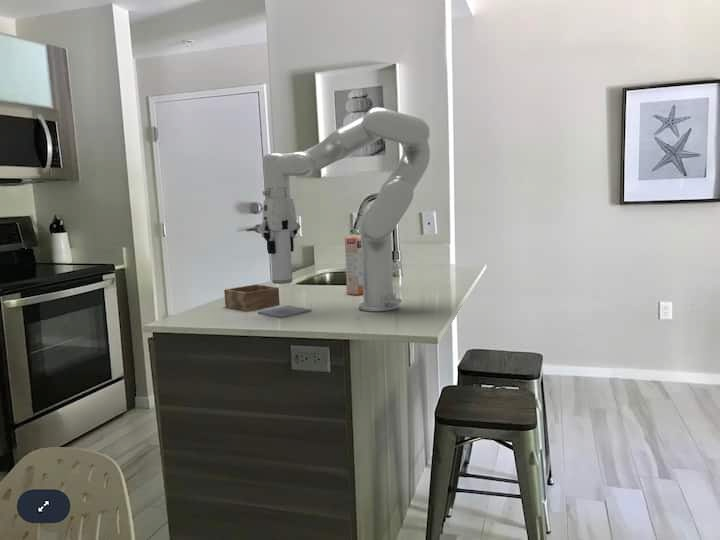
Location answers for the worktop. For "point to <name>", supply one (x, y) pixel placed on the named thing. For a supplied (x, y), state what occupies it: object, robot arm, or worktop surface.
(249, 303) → the crate
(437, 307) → the worktop surface
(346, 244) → the cracker box
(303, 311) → the mat
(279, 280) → the travel mug
